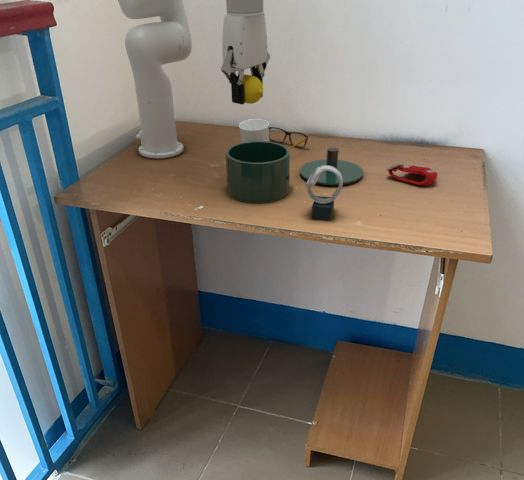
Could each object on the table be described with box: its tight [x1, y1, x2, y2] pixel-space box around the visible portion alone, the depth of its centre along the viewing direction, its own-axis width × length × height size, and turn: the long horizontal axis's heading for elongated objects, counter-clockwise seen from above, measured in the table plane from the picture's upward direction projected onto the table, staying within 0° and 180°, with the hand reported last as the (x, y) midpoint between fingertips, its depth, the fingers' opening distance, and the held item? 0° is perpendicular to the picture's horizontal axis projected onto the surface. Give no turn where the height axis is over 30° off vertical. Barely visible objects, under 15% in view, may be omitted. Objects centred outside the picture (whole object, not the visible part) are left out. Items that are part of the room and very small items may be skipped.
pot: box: [225, 141, 291, 204], centre depth 135 cm, size 15×15×10 cm
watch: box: [305, 165, 344, 222], centre depth 124 cm, size 6×8×11 cm
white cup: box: [238, 118, 270, 143], centre depth 149 cm, size 8×8×10 cm
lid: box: [299, 146, 364, 186], centre depth 143 cm, size 16×16×7 cm
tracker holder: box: [385, 163, 438, 187], centre depth 141 cm, size 12×4×10 cm
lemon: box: [237, 73, 264, 105], centre depth 123 cm, size 9×6×6 cm, turn 52°
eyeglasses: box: [269, 126, 309, 150], centre depth 158 cm, size 14×14×4 cm
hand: (247, 99), depth 125 cm, fingers closed on lemon, 5 cm apart
